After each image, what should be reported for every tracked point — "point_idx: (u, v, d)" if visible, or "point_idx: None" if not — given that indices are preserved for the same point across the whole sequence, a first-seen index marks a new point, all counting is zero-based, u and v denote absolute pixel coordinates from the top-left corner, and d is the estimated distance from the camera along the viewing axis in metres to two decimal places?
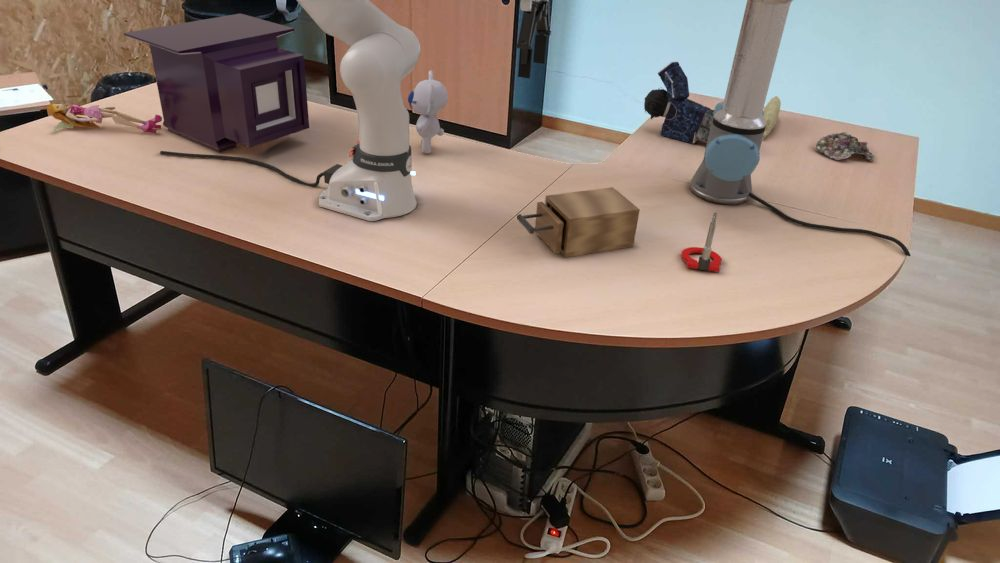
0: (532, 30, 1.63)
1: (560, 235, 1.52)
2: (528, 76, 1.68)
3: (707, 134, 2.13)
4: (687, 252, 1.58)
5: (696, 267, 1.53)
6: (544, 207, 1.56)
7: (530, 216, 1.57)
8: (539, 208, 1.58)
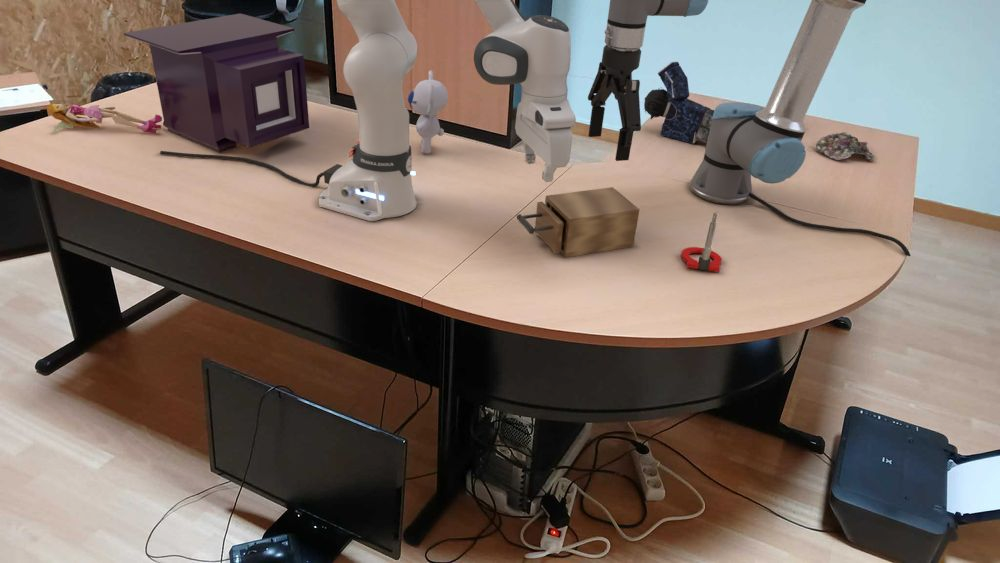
0: None
1: (560, 235, 1.52)
2: (627, 158, 1.51)
3: (707, 134, 2.13)
4: (687, 252, 1.58)
5: (696, 267, 1.53)
6: (544, 207, 1.56)
7: (530, 216, 1.57)
8: (539, 208, 1.58)
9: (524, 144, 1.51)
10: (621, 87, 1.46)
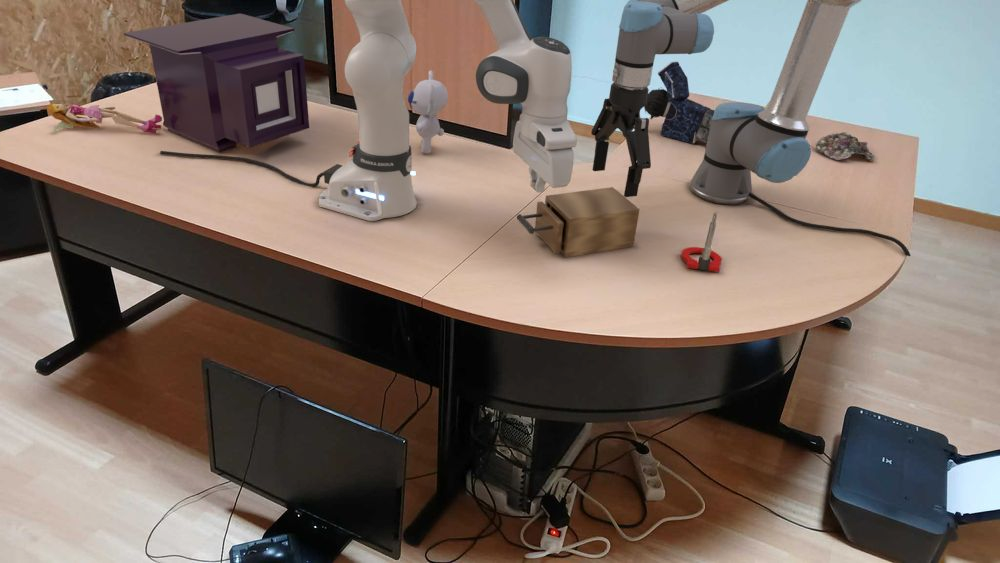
0: None
1: (560, 235, 1.52)
2: (636, 194, 1.52)
3: (707, 134, 2.13)
4: (687, 252, 1.58)
5: (696, 267, 1.53)
6: (544, 207, 1.56)
7: (530, 216, 1.57)
8: (539, 208, 1.58)
9: (530, 170, 1.50)
10: (629, 125, 1.47)
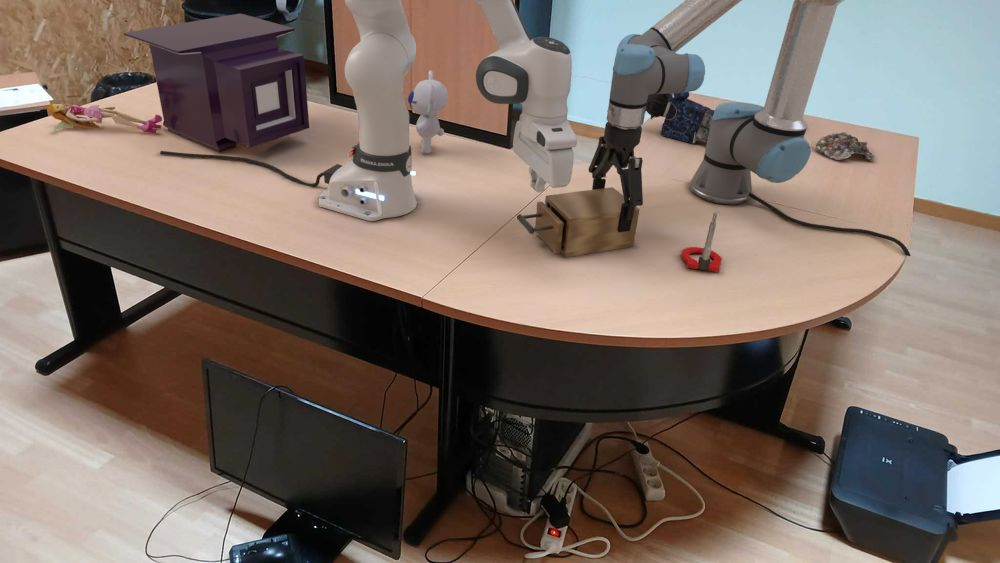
0: None
1: (560, 235, 1.52)
2: (629, 229, 1.57)
3: (707, 134, 2.13)
4: (687, 252, 1.58)
5: (696, 267, 1.53)
6: (544, 207, 1.56)
7: (530, 216, 1.57)
8: (539, 208, 1.58)
9: (530, 170, 1.50)
10: (624, 162, 1.51)
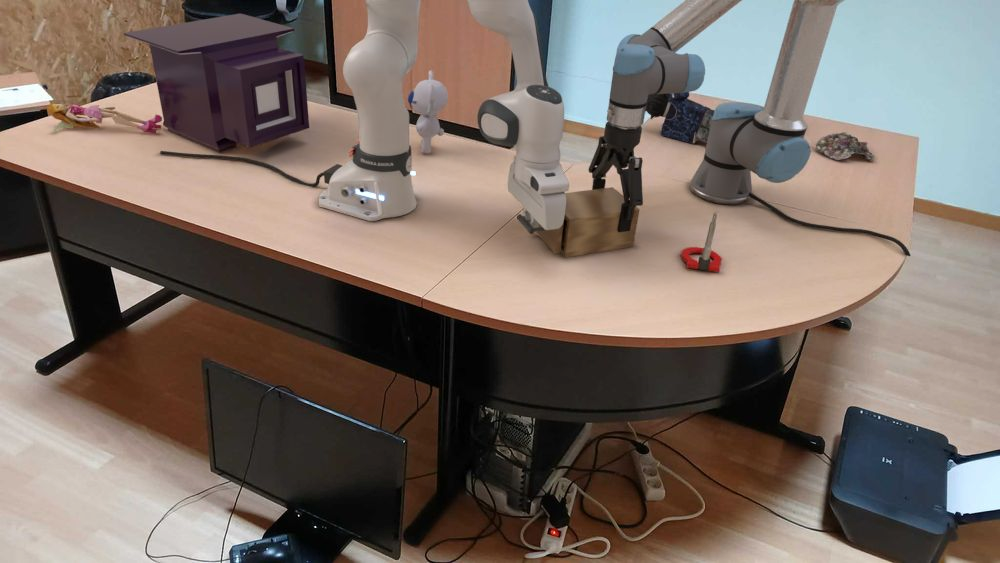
0: None
1: (560, 235, 1.52)
2: (629, 229, 1.57)
3: (707, 134, 2.13)
4: (687, 252, 1.58)
5: (696, 267, 1.53)
6: None
7: None
8: None
9: (524, 210, 1.54)
10: (624, 162, 1.51)
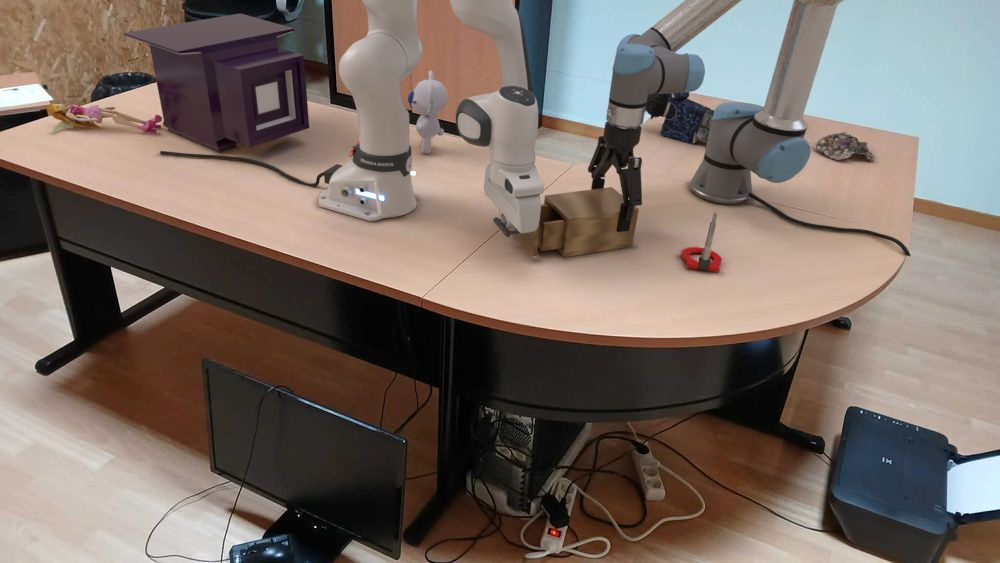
0: None
1: (537, 239, 1.50)
2: (628, 229, 1.57)
3: (707, 134, 2.13)
4: (687, 252, 1.58)
5: (696, 267, 1.53)
6: None
7: None
8: None
9: (500, 213, 1.52)
10: (623, 162, 1.51)
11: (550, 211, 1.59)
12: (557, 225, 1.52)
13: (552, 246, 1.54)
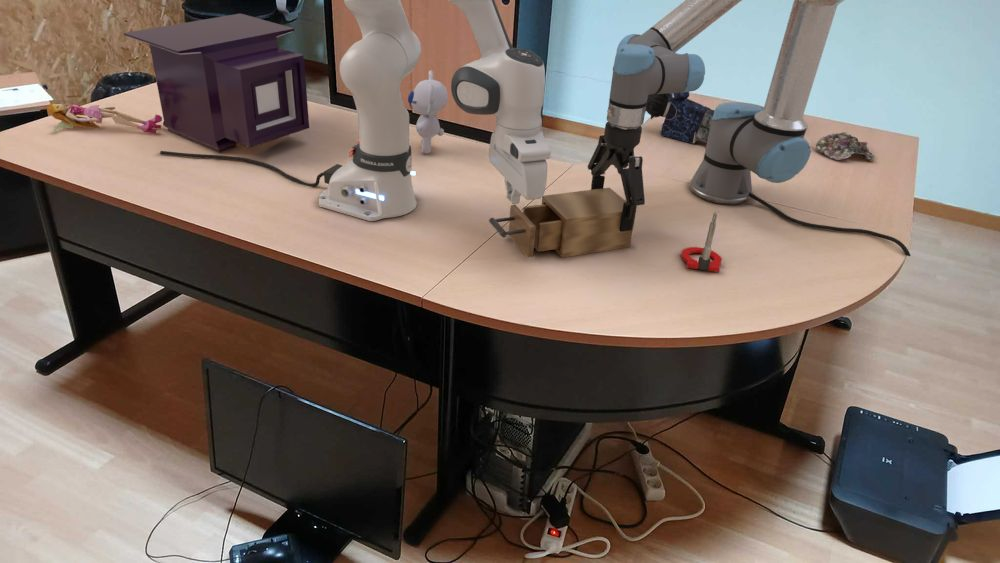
0: None
1: (533, 239, 1.50)
2: (631, 228, 1.56)
3: (707, 134, 2.13)
4: (687, 252, 1.58)
5: (696, 267, 1.53)
6: (517, 210, 1.54)
7: (502, 220, 1.54)
8: (512, 211, 1.56)
9: (506, 181, 1.49)
10: (624, 162, 1.51)
11: (546, 212, 1.59)
12: (553, 225, 1.51)
13: (548, 246, 1.54)
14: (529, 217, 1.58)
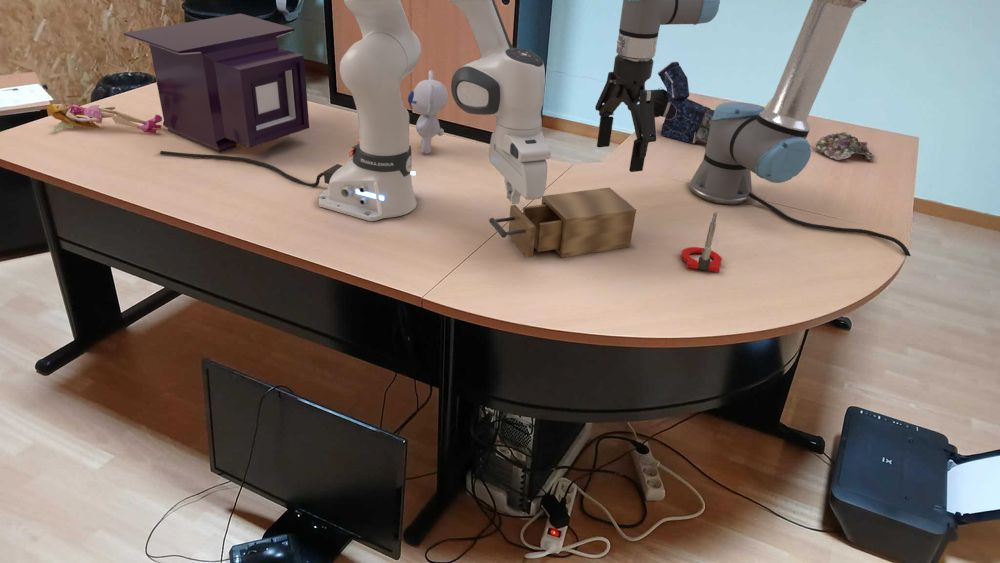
0: None
1: (533, 239, 1.50)
2: (641, 168, 1.49)
3: (707, 134, 2.13)
4: (687, 252, 1.58)
5: (696, 267, 1.53)
6: (517, 210, 1.54)
7: (502, 220, 1.54)
8: (512, 211, 1.56)
9: (506, 181, 1.49)
10: (634, 97, 1.44)
11: (546, 212, 1.59)
12: (553, 225, 1.52)
13: (548, 246, 1.54)
14: (529, 217, 1.58)
